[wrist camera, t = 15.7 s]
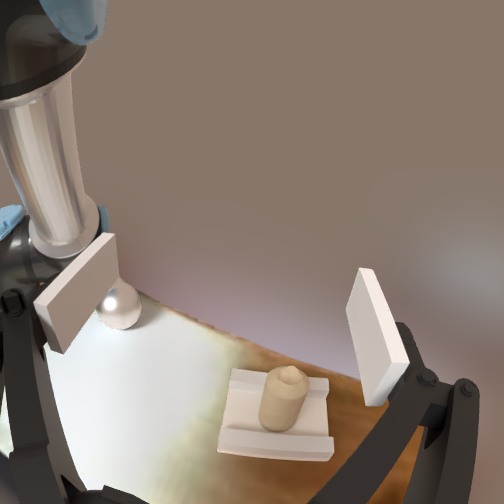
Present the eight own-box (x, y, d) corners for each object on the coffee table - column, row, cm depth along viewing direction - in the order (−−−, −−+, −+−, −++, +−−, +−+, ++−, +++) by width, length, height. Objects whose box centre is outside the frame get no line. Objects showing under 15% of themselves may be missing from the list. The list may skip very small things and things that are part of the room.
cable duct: (217, 451, 36) (217, 442, 34) (230, 379, 47) (231, 368, 46) (327, 461, 35) (334, 452, 34) (323, 389, 47) (328, 378, 45)
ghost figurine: (129, 302, 61) (124, 260, 56) (152, 328, 56) (147, 283, 51) (91, 317, 55) (81, 274, 51) (110, 346, 50) (99, 301, 45)
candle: (265, 397, 44) (275, 353, 39) (300, 408, 42) (316, 365, 38) (252, 425, 39) (261, 383, 34) (289, 437, 38) (306, 397, 33)
